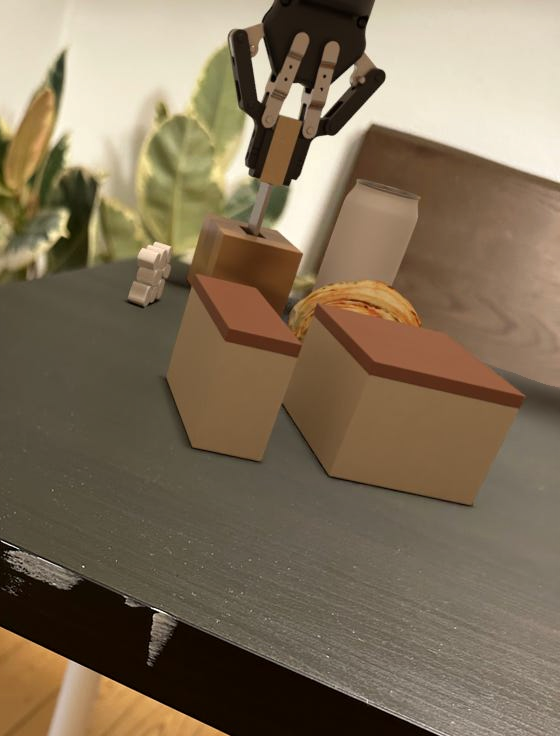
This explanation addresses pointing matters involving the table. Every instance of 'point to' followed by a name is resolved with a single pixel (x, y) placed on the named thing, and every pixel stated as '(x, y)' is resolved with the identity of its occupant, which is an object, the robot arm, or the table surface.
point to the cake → (398, 405)
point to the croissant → (354, 304)
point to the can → (369, 235)
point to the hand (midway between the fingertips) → (268, 179)
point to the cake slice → (230, 367)
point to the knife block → (247, 258)
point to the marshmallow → (151, 273)
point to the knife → (274, 167)
